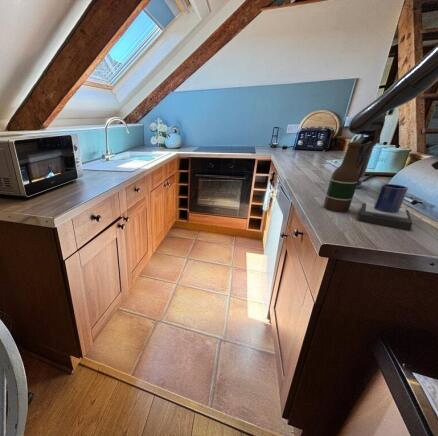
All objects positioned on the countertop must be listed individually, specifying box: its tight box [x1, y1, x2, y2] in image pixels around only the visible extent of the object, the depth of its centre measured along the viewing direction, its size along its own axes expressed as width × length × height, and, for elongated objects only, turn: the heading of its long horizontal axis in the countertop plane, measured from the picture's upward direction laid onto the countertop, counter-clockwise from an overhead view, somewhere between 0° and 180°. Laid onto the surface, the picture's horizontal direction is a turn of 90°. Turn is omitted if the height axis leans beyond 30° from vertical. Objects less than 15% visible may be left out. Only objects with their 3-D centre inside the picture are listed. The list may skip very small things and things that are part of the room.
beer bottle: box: [323, 141, 361, 213], centre depth 87 cm, size 8×8×24 cm
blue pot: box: [373, 183, 409, 213], centre depth 80 cm, size 6×6×8 cm
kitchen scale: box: [358, 202, 413, 231], centre depth 81 cm, size 14×12×3 cm
